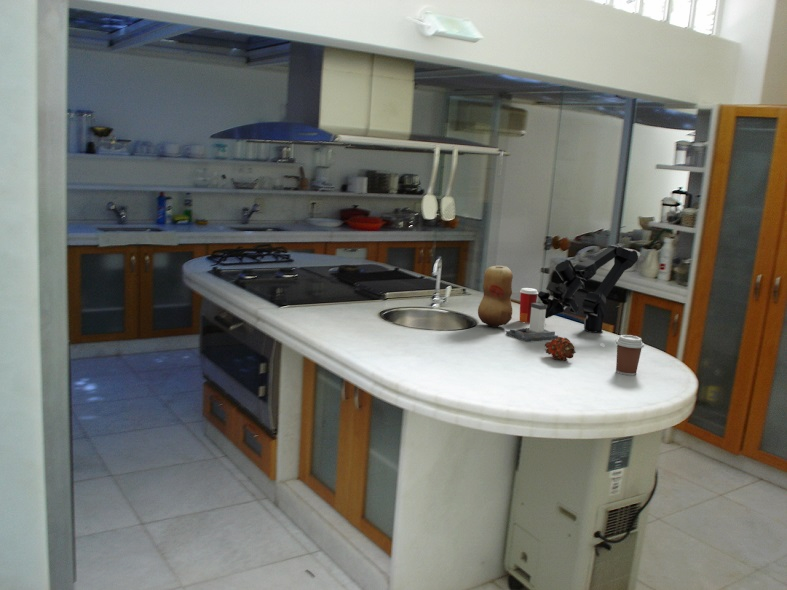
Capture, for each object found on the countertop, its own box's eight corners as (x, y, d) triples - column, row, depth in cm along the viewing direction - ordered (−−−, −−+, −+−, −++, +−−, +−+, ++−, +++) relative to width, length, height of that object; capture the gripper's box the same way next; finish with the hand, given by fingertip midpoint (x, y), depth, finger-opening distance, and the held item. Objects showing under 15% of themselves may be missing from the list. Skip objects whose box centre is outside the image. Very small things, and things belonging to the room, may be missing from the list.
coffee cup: (618, 366, 248) (622, 332, 245) (644, 373, 242) (649, 338, 240) (607, 371, 241) (611, 336, 238) (634, 378, 235) (638, 342, 233)
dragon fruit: (572, 368, 247) (544, 364, 256) (584, 351, 251) (556, 348, 260) (563, 350, 244) (535, 347, 253) (575, 333, 248) (547, 330, 257)
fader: (537, 330, 287) (540, 302, 285) (546, 334, 283) (549, 305, 281) (525, 331, 284) (528, 303, 282) (534, 335, 280) (537, 306, 278)
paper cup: (534, 320, 312) (537, 288, 310) (536, 324, 305) (539, 291, 302) (516, 318, 313) (519, 287, 310) (517, 322, 305) (520, 290, 303)
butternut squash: (474, 328, 290) (480, 266, 285) (478, 321, 303) (484, 262, 298) (509, 332, 287) (515, 270, 282) (512, 325, 300) (518, 265, 295)
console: (536, 331, 292) (537, 325, 291) (557, 338, 282) (558, 332, 281) (506, 334, 284) (506, 328, 283) (526, 341, 274) (527, 335, 273)
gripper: (543, 271, 292) (519, 299, 288) (577, 279, 276) (552, 308, 272) (555, 289, 297) (532, 317, 294) (589, 298, 282) (565, 328, 278)
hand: (545, 317), depth 284 cm, fingers closed
